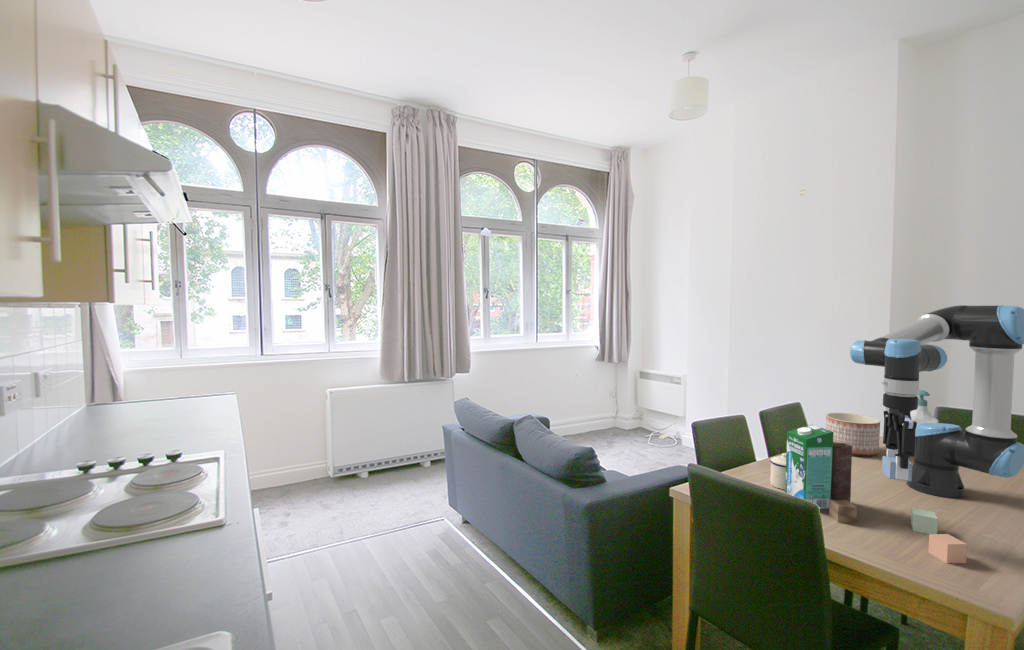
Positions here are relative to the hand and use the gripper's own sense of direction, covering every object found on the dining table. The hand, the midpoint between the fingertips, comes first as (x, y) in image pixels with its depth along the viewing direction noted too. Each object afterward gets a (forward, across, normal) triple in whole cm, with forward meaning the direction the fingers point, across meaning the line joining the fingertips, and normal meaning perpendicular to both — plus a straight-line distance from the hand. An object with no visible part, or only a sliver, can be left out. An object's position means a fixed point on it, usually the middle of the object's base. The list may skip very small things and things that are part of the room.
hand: (896, 475), depth 130 cm
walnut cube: (+17, -5, -11) cm, 21 cm away
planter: (+17, -82, +16) cm, 85 cm away
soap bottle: (+17, -90, +44) cm, 102 cm away
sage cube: (+17, -5, +9) cm, 20 cm away
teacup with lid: (+17, -29, -21) cm, 40 cm away
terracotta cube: (+17, +11, +7) cm, 21 cm away
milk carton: (+17, -14, -18) cm, 28 cm away
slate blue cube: (+1, 0, 0) cm, 1 cm away
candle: (+17, -17, -9) cm, 26 cm away
